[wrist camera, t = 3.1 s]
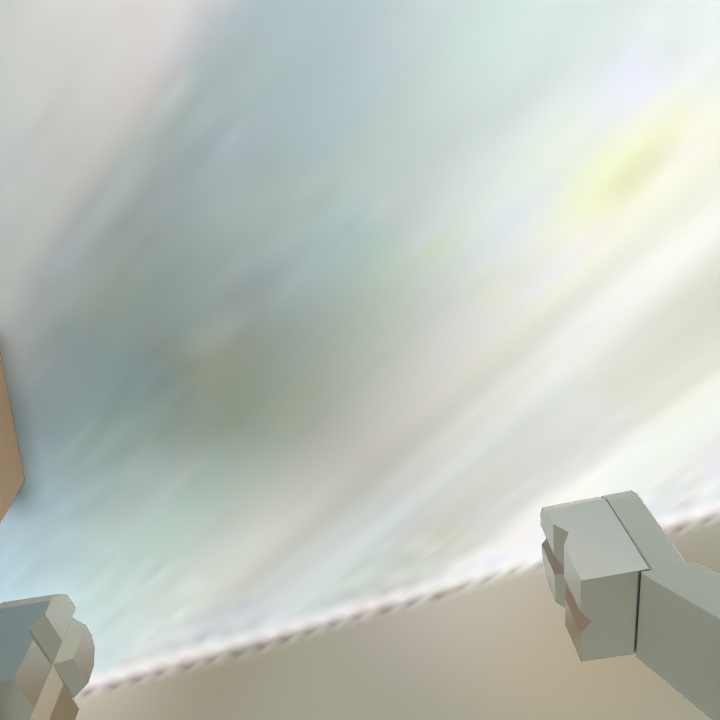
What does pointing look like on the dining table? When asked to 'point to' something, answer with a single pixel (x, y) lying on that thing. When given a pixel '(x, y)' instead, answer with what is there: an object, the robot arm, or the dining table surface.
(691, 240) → the dining table surface
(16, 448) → the block
